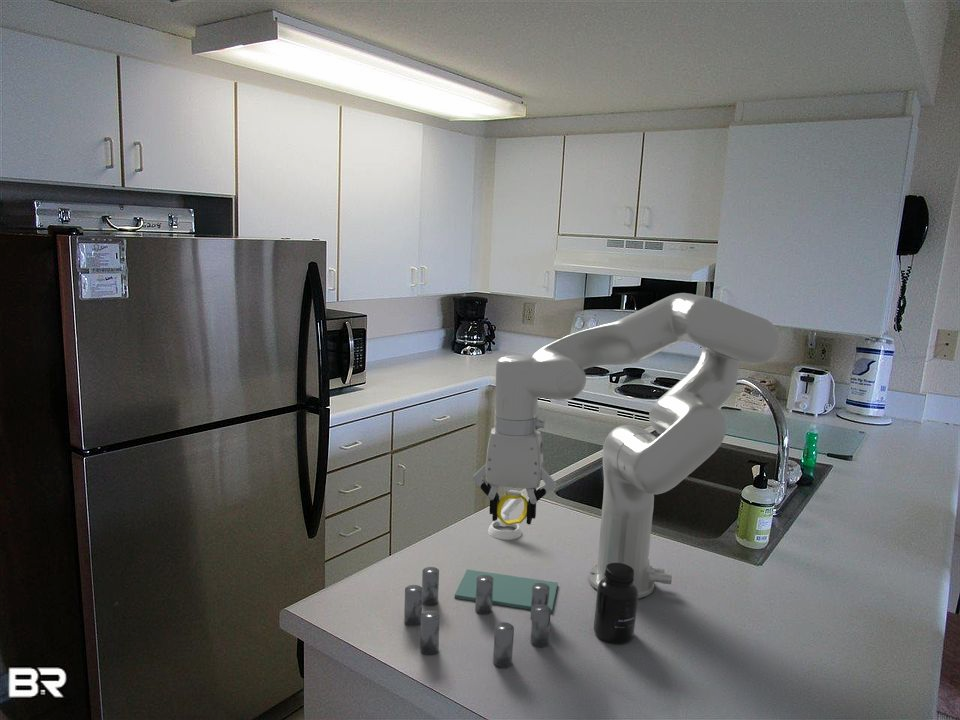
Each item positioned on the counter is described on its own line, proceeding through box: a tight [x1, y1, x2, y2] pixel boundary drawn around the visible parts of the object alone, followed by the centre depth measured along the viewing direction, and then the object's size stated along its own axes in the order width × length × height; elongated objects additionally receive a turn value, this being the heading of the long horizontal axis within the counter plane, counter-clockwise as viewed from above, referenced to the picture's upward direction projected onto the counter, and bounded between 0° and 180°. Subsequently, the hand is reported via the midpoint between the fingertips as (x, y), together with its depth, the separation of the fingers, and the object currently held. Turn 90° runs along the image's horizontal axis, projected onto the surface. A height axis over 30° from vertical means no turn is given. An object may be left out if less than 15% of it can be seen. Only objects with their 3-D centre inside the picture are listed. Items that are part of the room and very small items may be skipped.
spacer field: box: [403, 566, 552, 669], centre depth 115 cm, size 25×17×6 cm
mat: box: [454, 568, 559, 614], centre depth 129 cm, size 18×10×1 cm, turn 78°
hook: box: [487, 492, 524, 541], centre depth 153 cm, size 8×12×7 cm
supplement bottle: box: [593, 563, 639, 645], centre depth 116 cm, size 7×7×12 cm
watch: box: [497, 489, 528, 525], centre depth 125 cm, size 6×3×6 cm, turn 112°
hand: (512, 518), depth 125 cm, fingers closed on watch, 5 cm apart
